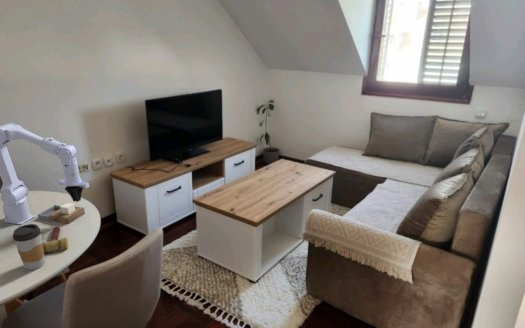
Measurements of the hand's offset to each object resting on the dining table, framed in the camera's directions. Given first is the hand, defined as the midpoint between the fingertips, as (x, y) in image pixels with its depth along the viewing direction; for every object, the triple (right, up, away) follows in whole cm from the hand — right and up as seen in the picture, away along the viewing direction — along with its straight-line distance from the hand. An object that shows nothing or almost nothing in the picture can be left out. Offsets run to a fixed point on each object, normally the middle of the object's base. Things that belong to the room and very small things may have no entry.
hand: (77, 200), depth 155 cm
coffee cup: (0, -21, -28) cm, 35 cm away
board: (-7, -8, +5) cm, 12 cm away
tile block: (-6, -5, +4) cm, 9 cm away
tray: (-15, -7, +7) cm, 18 cm away
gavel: (-2, -15, -12) cm, 20 cm away
